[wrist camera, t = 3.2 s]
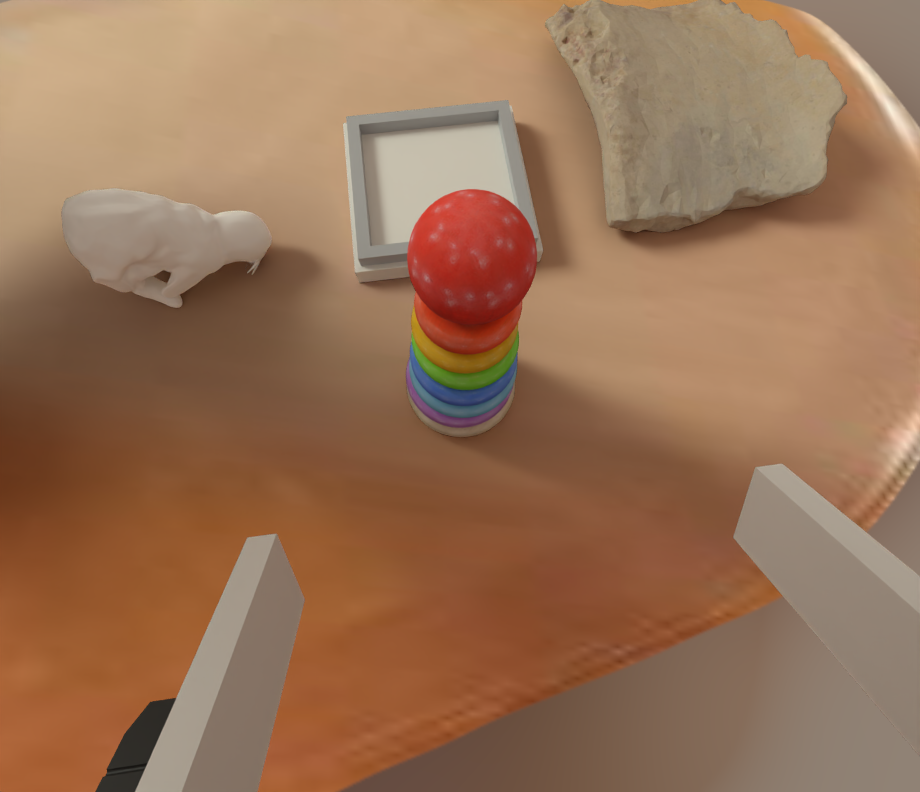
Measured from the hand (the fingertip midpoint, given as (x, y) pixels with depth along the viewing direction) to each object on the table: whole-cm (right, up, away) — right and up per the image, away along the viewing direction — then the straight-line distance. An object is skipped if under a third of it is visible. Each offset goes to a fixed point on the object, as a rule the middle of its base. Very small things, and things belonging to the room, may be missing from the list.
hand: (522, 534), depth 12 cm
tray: (-4, +21, +25) cm, 33 cm away
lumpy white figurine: (-22, +14, +23) cm, 35 cm away
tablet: (+18, +29, +28) cm, 44 cm away
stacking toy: (-2, +4, +21) cm, 21 cm away
